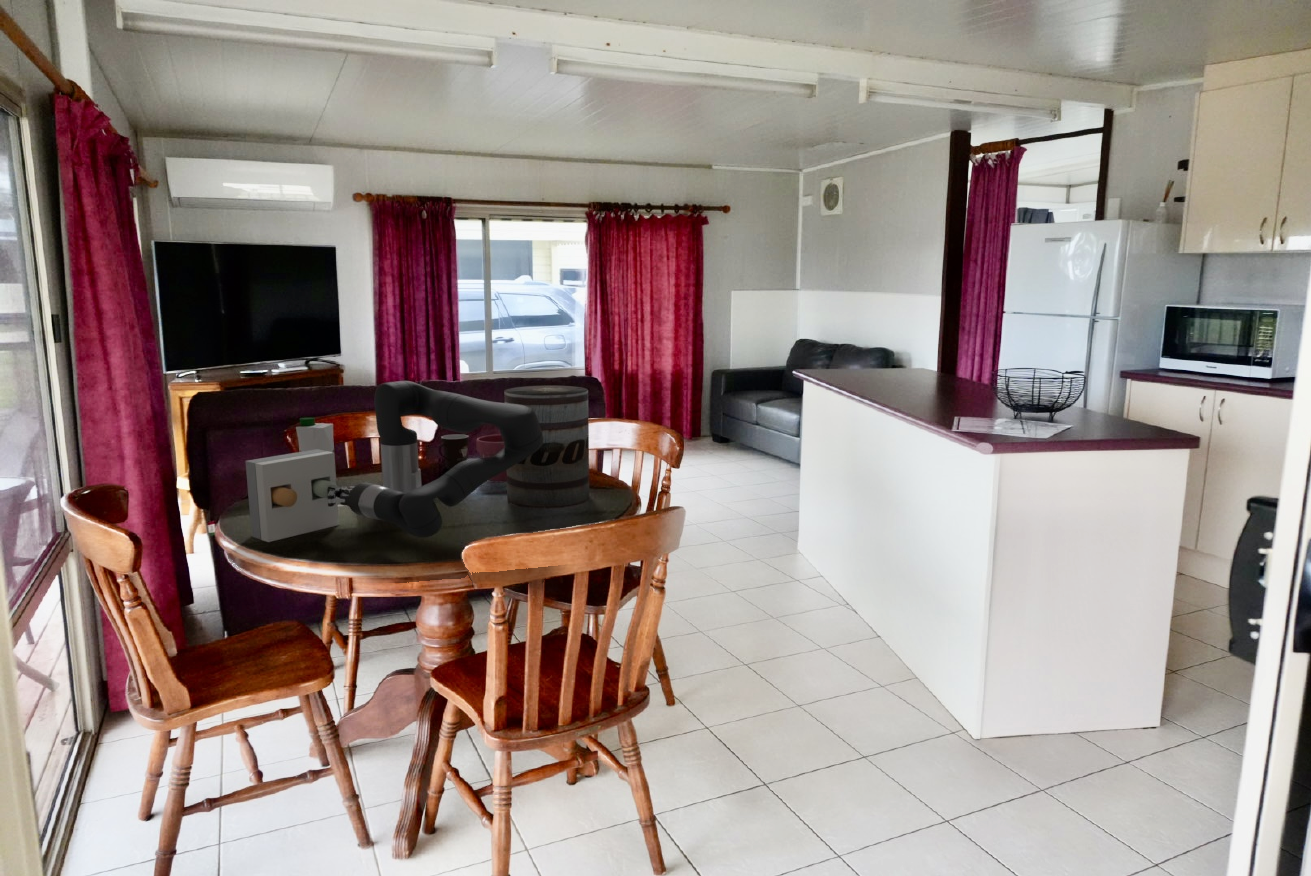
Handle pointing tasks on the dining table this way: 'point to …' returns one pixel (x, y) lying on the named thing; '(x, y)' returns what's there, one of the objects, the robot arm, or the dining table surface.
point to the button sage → (321, 487)
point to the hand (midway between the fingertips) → (330, 490)
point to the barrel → (553, 449)
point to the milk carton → (314, 435)
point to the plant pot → (492, 452)
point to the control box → (296, 476)
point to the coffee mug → (454, 449)
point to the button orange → (283, 496)
